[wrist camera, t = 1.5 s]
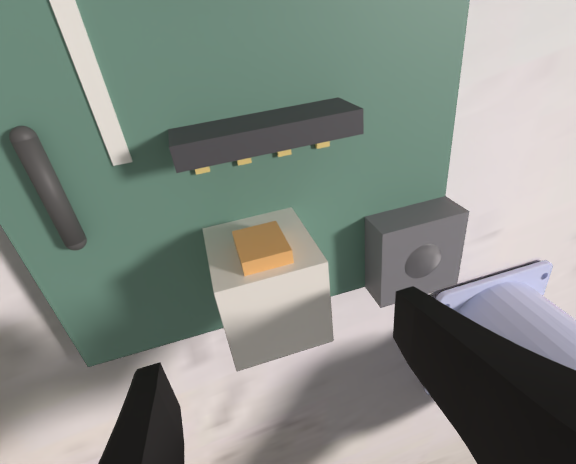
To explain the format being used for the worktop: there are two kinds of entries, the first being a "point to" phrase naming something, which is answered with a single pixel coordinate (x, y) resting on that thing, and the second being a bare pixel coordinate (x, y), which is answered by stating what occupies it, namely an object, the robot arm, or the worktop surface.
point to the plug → (269, 287)
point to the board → (222, 149)
